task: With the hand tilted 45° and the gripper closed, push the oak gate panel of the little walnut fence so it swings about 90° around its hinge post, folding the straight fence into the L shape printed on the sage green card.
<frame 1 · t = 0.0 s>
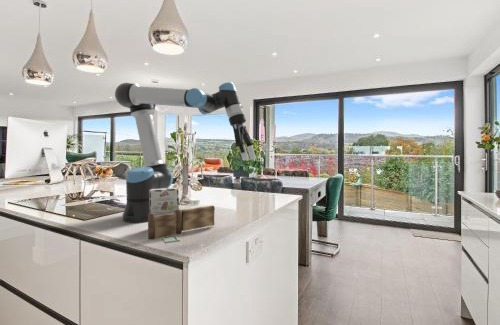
hand: (249, 159, 129), 28 cm above the table, tool tilted 20°, fingers open, 13 cm apart
fence base: (178, 233, 108), on the table
fence gate: (198, 217, 113), point 5 cm above the table, hinge at 0.0°
candy bar box: (164, 229, 114), on the table
layout card: (170, 239, 100), on the table
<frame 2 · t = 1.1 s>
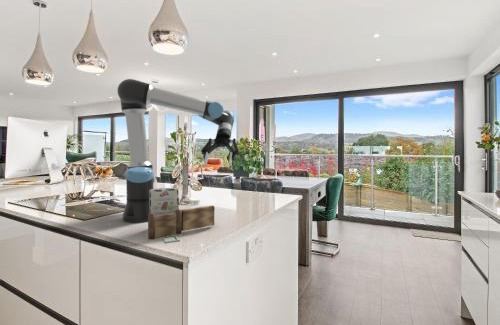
hand: (217, 164, 133), 25 cm above the table, tool tilted 45°, fingers open, 11 cm apart
nothing on the table moved.
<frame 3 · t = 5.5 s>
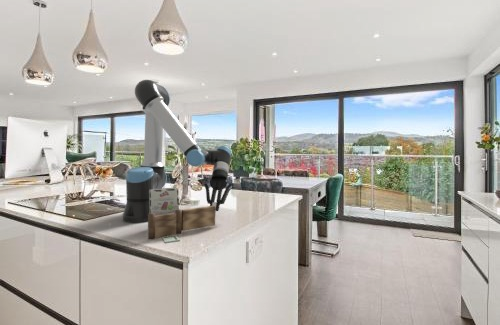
hand: (212, 216, 119), 4 cm above the table, tool tilted 45°, fingers closed
fence gate: (198, 217, 113), point 5 cm above the table, hinge at 2.7°, touching gripper
everything else where it was.
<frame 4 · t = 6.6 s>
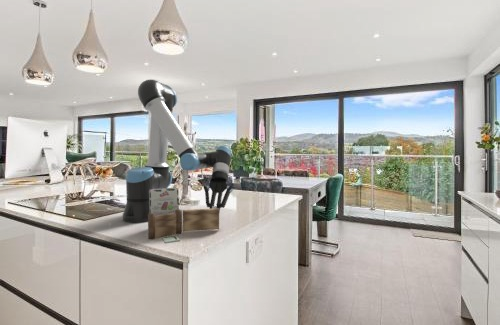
hand: (212, 221, 113), 3 cm above the table, tool tilted 40°, fingers closed
fence gate: (201, 219, 110), point 5 cm above the table, hinge at 24.3°, touching gripper
everything else where it was.
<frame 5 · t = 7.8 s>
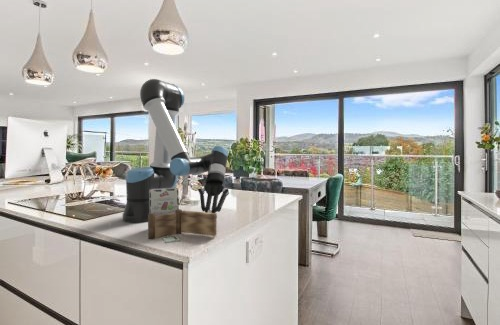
hand: (207, 226, 106), 3 cm above the table, tool tilted 40°, fingers closed
fence gate: (198, 222, 105), point 5 cm above the table, hinge at 57.3°, touching gripper
everything else where it was.
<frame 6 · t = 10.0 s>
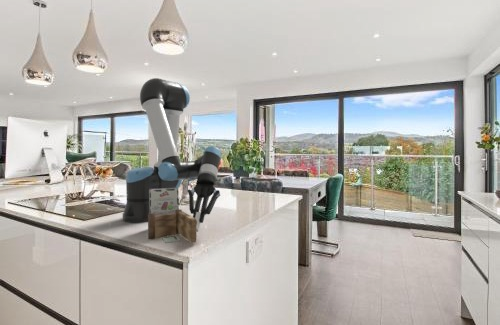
hand: (195, 230, 99), 4 cm above the table, tool tilted 45°, fingers closed
fence gate: (186, 226, 100), point 5 cm above the table, hinge at 96.1°, touching gripper
everything else where it was.
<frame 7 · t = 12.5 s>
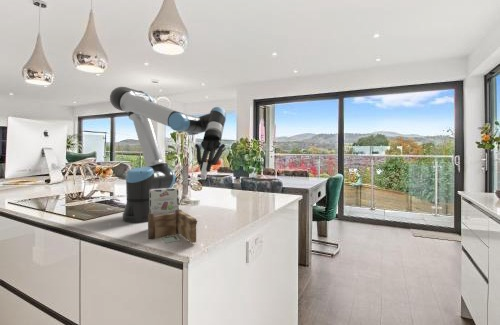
hand: (203, 177, 108), 22 cm above the table, tool tilted 45°, fingers closed
fence gate: (186, 226, 100), point 5 cm above the table, hinge at 96.1°
everything else where it was.
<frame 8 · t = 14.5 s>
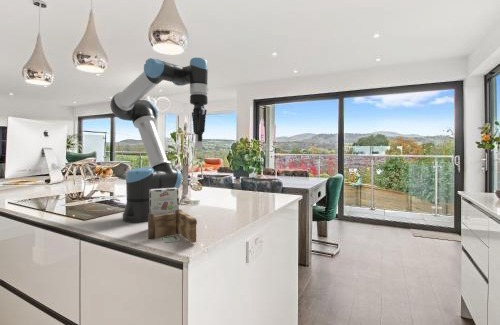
hand: (198, 149, 124), 32 cm above the table, tool pointing down, fingers closed
nothing on the table moved.
at the end: fence gate at +96° (first picture: +0°) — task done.
